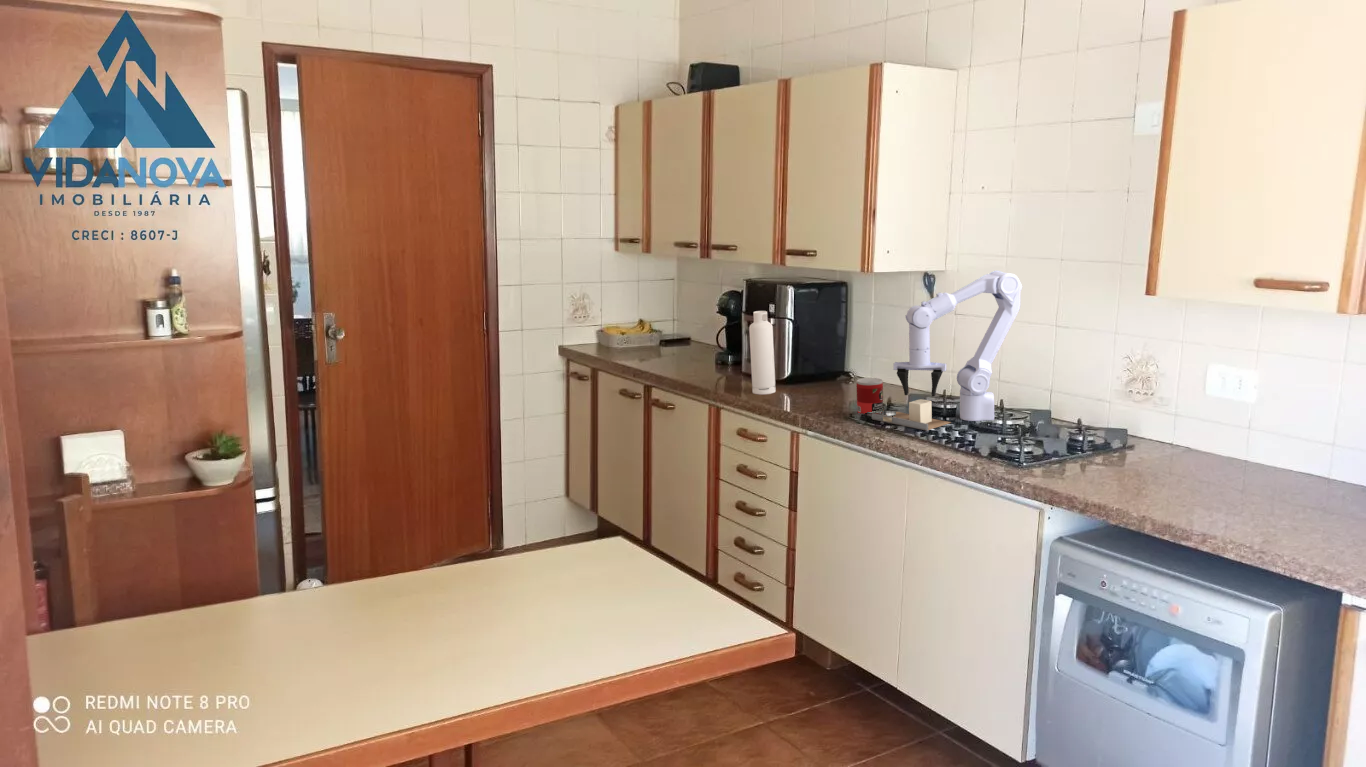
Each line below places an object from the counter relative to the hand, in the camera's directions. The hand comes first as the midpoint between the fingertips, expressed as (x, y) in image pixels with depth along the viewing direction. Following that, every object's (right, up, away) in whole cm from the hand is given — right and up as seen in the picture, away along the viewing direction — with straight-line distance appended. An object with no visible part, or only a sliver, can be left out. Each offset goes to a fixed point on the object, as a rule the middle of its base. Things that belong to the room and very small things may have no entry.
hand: (920, 395), depth 269 cm
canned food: (-11, -7, +18) cm, 22 cm away
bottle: (-40, 0, +59) cm, 71 cm away
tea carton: (+1, -8, +2) cm, 8 cm away
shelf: (-2, -9, +4) cm, 10 cm away
